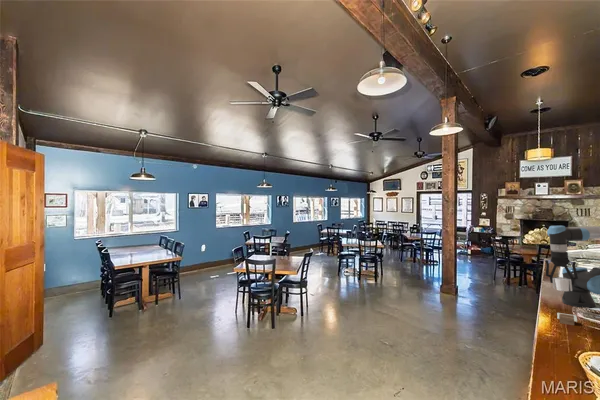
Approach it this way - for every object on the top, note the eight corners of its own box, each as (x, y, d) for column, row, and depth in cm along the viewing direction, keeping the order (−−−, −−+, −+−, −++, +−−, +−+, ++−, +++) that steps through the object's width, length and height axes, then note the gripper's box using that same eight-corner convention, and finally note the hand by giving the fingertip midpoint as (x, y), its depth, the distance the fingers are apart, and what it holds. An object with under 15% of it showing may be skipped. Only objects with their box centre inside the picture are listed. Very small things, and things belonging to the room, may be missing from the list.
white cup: (573, 291, 162) (572, 279, 162) (559, 291, 164) (558, 279, 164) (565, 288, 169) (564, 277, 169) (552, 288, 170) (551, 276, 171)
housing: (560, 321, 153) (559, 313, 153) (574, 324, 149) (573, 315, 149) (560, 324, 149) (559, 316, 149) (574, 327, 145) (573, 318, 145)
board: (557, 314, 163) (557, 312, 163) (576, 316, 157) (576, 315, 157) (557, 319, 155) (557, 318, 155) (577, 323, 149) (577, 321, 149)
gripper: (537, 250, 172) (540, 288, 170) (582, 253, 158) (586, 293, 157) (538, 249, 177) (541, 285, 176) (582, 251, 163) (585, 290, 162)
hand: (562, 289), depth 166 cm, fingers closed on white cup, 7 cm apart
